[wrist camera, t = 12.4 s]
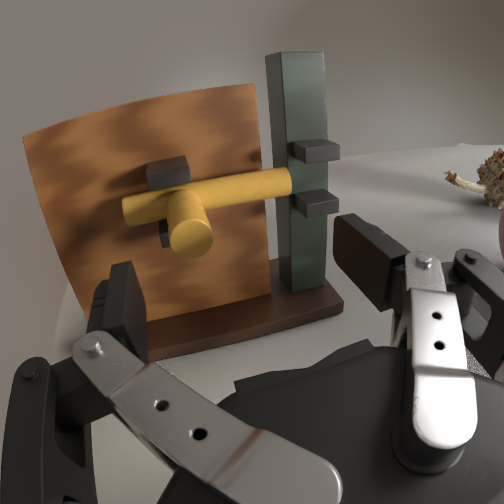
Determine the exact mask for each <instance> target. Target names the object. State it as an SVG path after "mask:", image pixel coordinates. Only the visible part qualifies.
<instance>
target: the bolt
mask: <svg viewBox="0 0 504 504" xmlns="http://www.w3.org/2000/svg"><path fill="white" fill-rule="evenodd" d="M291 189H292V183H291V177H290V174H289V172H288V170H287V168H285V167H280V168H273V169H266V170H260V171H253V172H247V173H241V174H235V175H230V176H224V177H218V178H213V179H208V180H202V181H197V182H192V183H187V184H182V185H177V186H172V187H168V188H163V189H158V190H154V191H149V192H145V193H141V194H136V195H132V196H128V197H124V198H122V210H123V215H124V219H125V222H126V224H127V226H128V227H133V226H137V225H141V224H146V223H150V222H155V221H159V220H164V219H167V223H168V234H169V243H170V247H171V249H172V251H173V252H174V253H175V254H176V255H178V256H179V257H181V258H184V259H197V258H200V257H202V256H204V255H205V254H206V253H207V252H208V251H209V250H210V249H211V247H212V245H213V241H214V234H213V231H212V228H211V226H210V223H209V221H208V218H207V215H206V213H205V211H206V210H211V209H216V208H221V207H226V206H231V205H237V204H242V203H247V202H253V201H258V200H264V199H269V198H275V197H280V196H286V195H289V194H290V193H291Z"/></svg>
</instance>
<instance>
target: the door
mask: <svg viewBox="0 0 504 504" xmlns="http://www.w3.org/2000/svg"><path fill="white" fill-rule="evenodd" d="M265 63H266V74H267V86H268V99H269V111H270V125H271V139H272V153H273V168H280V167H285V168H287V170H288V172H289V174H290V177H291V183H292V189H291V193H290V194H289V195H286V196H280V197H275V201H276V218H277V237H278V257H279V258H277V259H272V260H269V256H268V241H267V227H266V213H265V199H264V200H258V201H253V202H247V203H242V204H237V205H231V206H226V207H221V208H216V209H211V210H206V211H205V213H206V215H207V218H208V221H209V223H210V226H211V228H212V231H213V234H214V241H213V245H212V247H211V249H210V250H209V251H208V252H207V253H206V254H205V255H204V256H202V257H200V258H197V259H184V258H181V257H179V256H178V255H176V254H175V253H174V252H173V251H172V249H171V247H170V243H169V234H168V223H167V219H164V220H159V221H155V222H150V223H146V224H141V225H137V226H133V227H128V226H127V224H126V222H125V219H124V215H123V210H122V198H124V197H128V196H132V195H136V194H141V193H145V192H149V191H154V190H158V189H163V188H168V187H172V186H177V185H182V184H187V183H192V182H197V181H202V180H208V179H213V178H218V177H224V176H230V175H235V174H241V173H247V172H253V171H260V170H262V160H261V148H260V136H259V124H258V113H257V100H256V90H255V84H242V85H232V86H223V87H215V88H207V89H200V90H194V91H187V92H181V93H175V94H169V95H165V96H159V97H154V98H149V99H144V100H140V101H135V102H131V103H127V104H122V105H119V106H114V107H111V108H107V109H103V110H99V111H96V112H92V113H89V114H86V115H82V116H79V117H76V118H72V119H69V120H66V121H63V122H60V123H57V124H54V125H51V126H49V127H46V128H43V129H40V130H38V131H35V132H32V133H30V134H27V135H25V136H23V137H22V138H23V143H24V147H25V151H26V156H27V160H28V164H29V167H30V171H31V175H32V179H33V182H34V186H35V189H36V192H37V195H38V199H39V202H40V205H41V208H42V211H43V214H44V217H45V220H46V223H47V226H48V228H49V231H50V234H51V237H52V239H53V242H54V245H55V248H56V250H57V253H58V255H59V258H60V260H61V263H62V265H63V267H64V270H65V272H66V275H67V277H68V279H69V281H70V284H71V286H72V288H73V290H74V293H75V295H76V297H77V299H78V301H79V303H80V305H81V307H82V309H83V311H84V313H85V315H86V317H87V319H88V320H89V315H90V310H91V305H92V301H93V295H94V291H95V289H96V287H97V286H98V285H99V283H100V282H101V281H102V280H106V279H109V275H110V270H111V265H112V264H116V263H121V262H125V261H129V260H131V261H132V263H133V266H134V269H135V272H136V275H137V278H138V281H139V284H140V287H141V289H142V292H143V295H144V299H145V303H146V312H147V343H148V362H150V361H156V360H162V359H166V358H171V357H176V356H181V355H186V354H190V353H195V352H199V351H204V350H208V349H212V348H216V347H221V346H225V345H229V344H233V343H237V342H241V341H245V340H249V339H252V338H256V337H260V336H264V335H267V334H271V333H275V332H278V331H282V330H285V329H289V328H292V327H296V326H299V325H303V324H306V323H309V322H313V321H316V320H319V319H323V318H326V317H329V316H332V315H335V314H338V313H341V312H343V306H344V301H343V299H342V298H341V297H340V296H339V294H338V293H337V292H336V291H335V289H334V288H333V287H332V286H331V284H330V283H329V282H328V281H327V280H326V278H325V267H326V245H327V215H328V214H333V213H338V212H339V199H338V198H337V197H335V196H334V195H333V194H331V193H330V192H328V161H333V160H340V145H339V144H336V143H334V142H331V141H329V140H328V133H327V103H326V81H325V64H324V53H323V52H278V53H274V54H270V55H266V56H265Z"/></svg>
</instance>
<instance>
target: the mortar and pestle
mask: <svg viewBox="0 0 504 504" xmlns="http://www.w3.org/2000/svg"><path fill="white" fill-rule="evenodd" d="M499 243H500V249H501V253H502V256H503V259H504V206H503V209H502V212H501V216H500V221H499Z"/></svg>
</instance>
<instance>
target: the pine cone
mask: <svg viewBox="0 0 504 504" xmlns="http://www.w3.org/2000/svg"><path fill="white" fill-rule="evenodd" d="M477 172H478V174H479V178H480V180H479V181H478V182H477V184H475V183H472V182H468V181H466V180H464V179H462V178H460V177H458V176H457V174H456V173H454V174H453V173H452V172H451V171H448V172H444V173H446V174H448V176H447V177H446V178H445V180H447V181H449V182H450V183H452V184H453V185H457V186H459V187H462V188H463V189H468V190H471V191H474V192H479V193H484V197H485V202H486V204H488V203H489V206H490V207H491V206H492V205H493V204H495V205H496V206H497V207H498V208H499V210H500V209H501V208H503V206H504V152H503V151H502V149H501V147H500V148H499V149H498V152H496V151H495V150H494V153H493V155H492V157H489V158H488V160H486V159H485V164H481V165H480V168H478V169H477Z"/></svg>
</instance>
